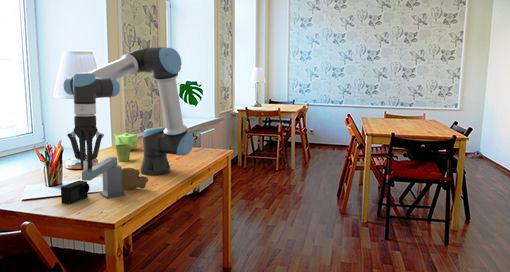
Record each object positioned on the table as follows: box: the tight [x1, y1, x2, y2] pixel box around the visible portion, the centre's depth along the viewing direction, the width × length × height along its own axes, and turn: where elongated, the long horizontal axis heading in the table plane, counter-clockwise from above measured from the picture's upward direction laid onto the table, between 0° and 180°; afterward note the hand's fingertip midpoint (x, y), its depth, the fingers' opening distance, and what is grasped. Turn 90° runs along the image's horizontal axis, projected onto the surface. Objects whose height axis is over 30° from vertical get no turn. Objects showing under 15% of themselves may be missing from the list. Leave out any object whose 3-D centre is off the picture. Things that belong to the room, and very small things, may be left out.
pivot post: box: [99, 164, 126, 199], centre depth 181 cm, size 8×8×12 cm
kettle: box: [112, 132, 139, 151], centre depth 274 cm, size 15×14×11 cm
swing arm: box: [81, 156, 118, 182], centre depth 168 cm, size 27×4×3 cm, turn 178°
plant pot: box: [114, 144, 132, 162], centre depth 245 cm, size 9×9×9 cm
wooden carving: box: [121, 167, 149, 191], centre depth 189 cm, size 16×5×10 cm, turn 98°
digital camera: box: [60, 179, 90, 205], centre depth 172 cm, size 10×5×7 cm, turn 162°
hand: (87, 177), depth 161 cm, fingers closed
